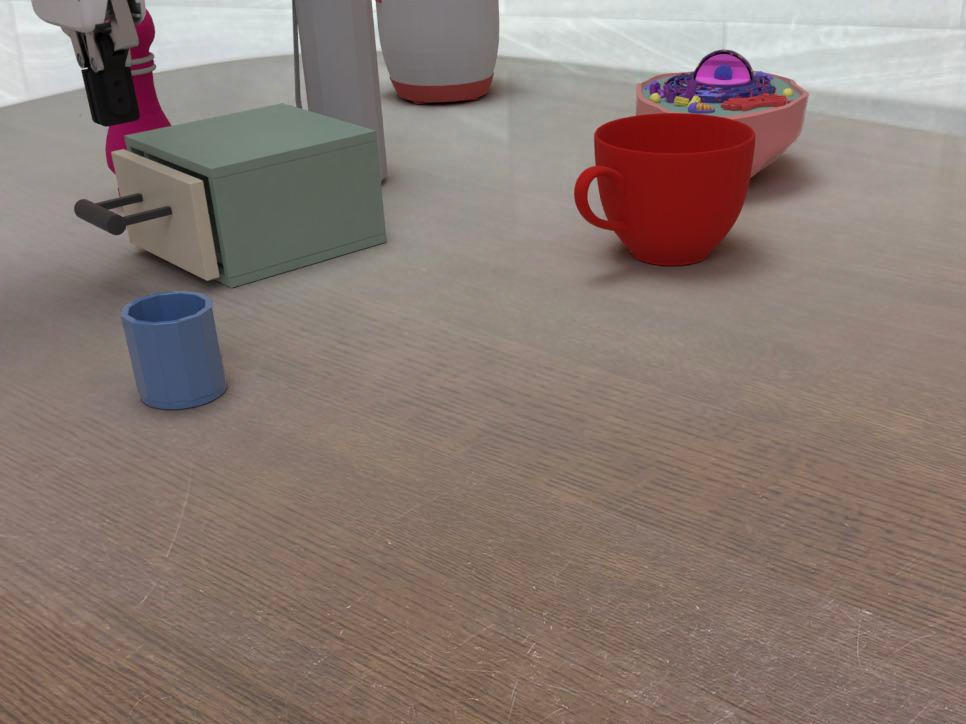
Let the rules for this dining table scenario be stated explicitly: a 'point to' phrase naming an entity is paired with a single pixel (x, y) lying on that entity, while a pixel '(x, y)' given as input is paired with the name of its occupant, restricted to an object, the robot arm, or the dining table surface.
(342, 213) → the green storage cabinet
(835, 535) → the dining table surface
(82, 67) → the robot arm
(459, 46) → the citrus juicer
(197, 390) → the cup
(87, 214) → the drawer
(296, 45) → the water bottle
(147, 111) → the pepper mill
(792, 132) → the cell model
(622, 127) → the ceramic cup
